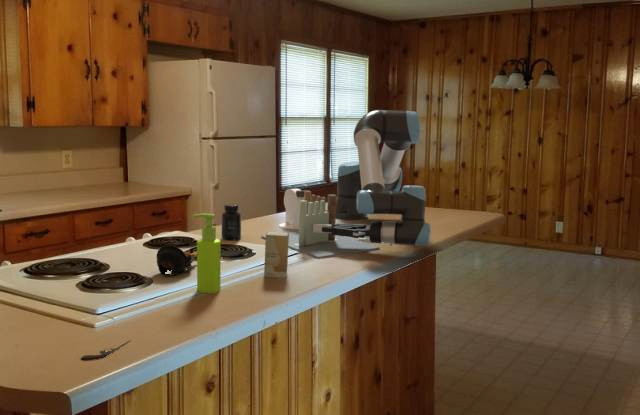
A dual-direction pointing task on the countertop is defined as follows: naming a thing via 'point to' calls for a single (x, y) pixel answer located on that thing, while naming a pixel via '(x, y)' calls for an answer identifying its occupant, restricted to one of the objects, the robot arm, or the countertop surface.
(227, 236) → the supplement bottle
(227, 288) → the countertop surface
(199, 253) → the soap dispenser
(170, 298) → the countertop surface
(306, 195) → the fence fixed
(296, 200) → the panda figurine
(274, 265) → the skincare box
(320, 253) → the card
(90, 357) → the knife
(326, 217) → the fence panel
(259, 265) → the countertop surface
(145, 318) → the countertop surface
